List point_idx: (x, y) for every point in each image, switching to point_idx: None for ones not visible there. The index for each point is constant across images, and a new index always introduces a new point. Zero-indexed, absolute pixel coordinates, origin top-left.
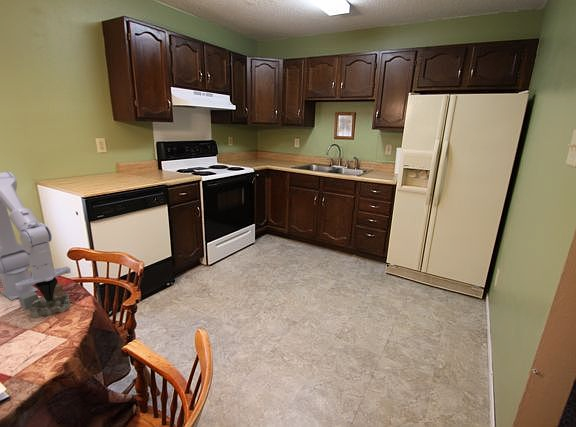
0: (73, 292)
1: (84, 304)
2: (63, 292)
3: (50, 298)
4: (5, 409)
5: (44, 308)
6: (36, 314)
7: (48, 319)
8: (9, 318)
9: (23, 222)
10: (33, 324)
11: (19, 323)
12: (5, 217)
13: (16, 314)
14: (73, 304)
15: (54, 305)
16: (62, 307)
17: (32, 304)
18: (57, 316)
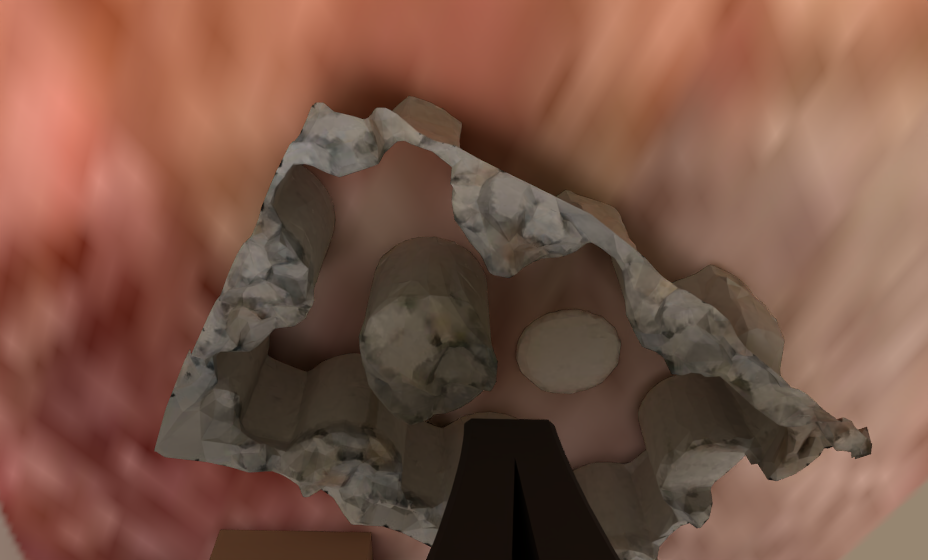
0: (110, 491)
1: (42, 26)
2: (212, 555)
3: (514, 456)
4: None
5: (659, 319)
6: (753, 309)
7: (690, 79)
8: (853, 501)
9: None
10: (887, 137)
11: (915, 326)
12: None
13: (764, 519)
14: (206, 201)
15: (475, 313)
16: (415, 137)
17: (647, 546)
18: (557, 40)
